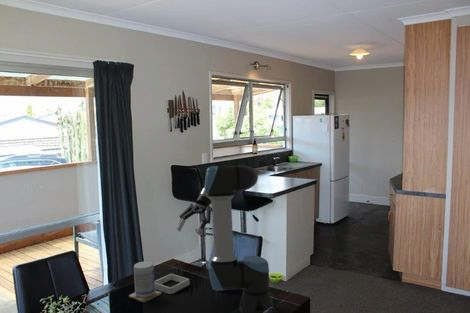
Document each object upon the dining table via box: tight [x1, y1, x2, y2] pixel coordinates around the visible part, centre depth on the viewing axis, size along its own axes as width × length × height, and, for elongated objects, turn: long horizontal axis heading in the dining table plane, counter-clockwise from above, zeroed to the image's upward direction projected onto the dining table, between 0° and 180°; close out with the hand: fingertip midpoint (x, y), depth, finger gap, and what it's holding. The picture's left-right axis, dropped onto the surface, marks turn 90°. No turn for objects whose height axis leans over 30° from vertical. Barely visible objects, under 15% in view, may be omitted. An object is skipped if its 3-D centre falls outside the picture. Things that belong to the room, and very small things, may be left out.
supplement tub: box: [133, 261, 156, 297], centre depth 195 cm, size 10×10×15 cm
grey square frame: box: [155, 273, 191, 295], centre depth 205 cm, size 14×14×3 cm
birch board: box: [128, 289, 162, 303], centre depth 195 cm, size 11×11×1 cm
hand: (187, 232), depth 209 cm, fingers open, 13 cm apart
